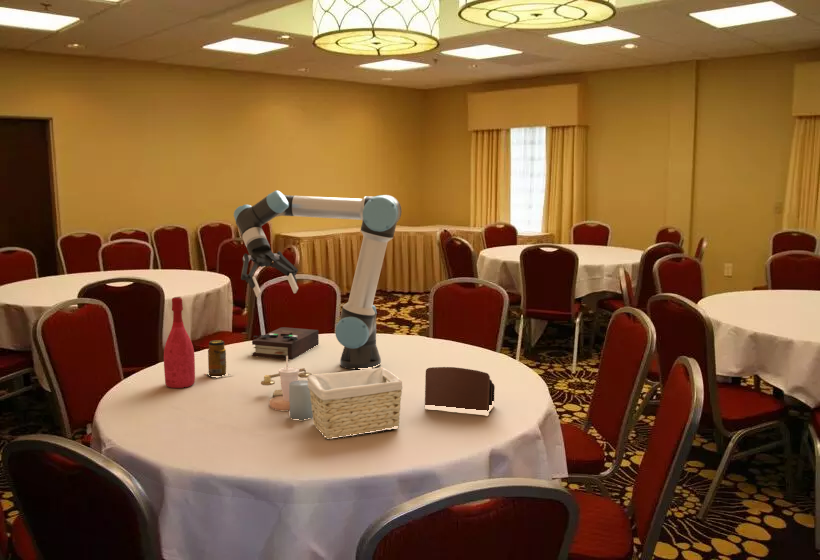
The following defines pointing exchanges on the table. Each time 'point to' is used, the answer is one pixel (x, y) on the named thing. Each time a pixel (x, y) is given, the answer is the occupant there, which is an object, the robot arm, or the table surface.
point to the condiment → (217, 359)
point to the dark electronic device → (285, 343)
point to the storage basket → (355, 401)
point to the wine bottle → (178, 352)
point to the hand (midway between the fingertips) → (277, 292)
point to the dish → (279, 403)
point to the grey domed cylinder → (300, 400)
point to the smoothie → (287, 378)
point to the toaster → (458, 388)
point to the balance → (268, 377)
